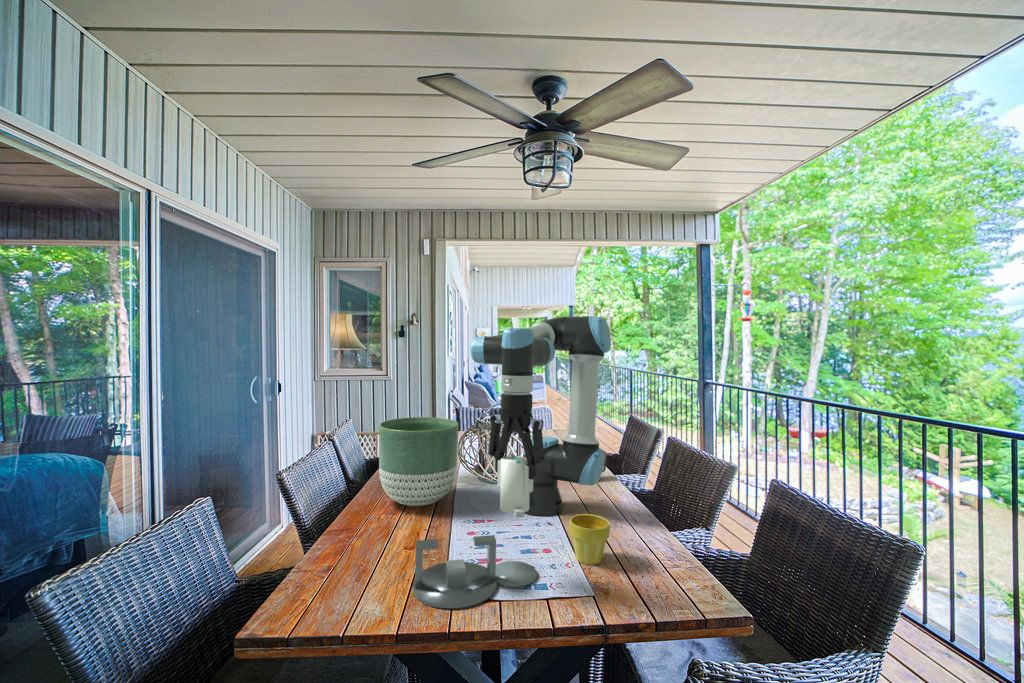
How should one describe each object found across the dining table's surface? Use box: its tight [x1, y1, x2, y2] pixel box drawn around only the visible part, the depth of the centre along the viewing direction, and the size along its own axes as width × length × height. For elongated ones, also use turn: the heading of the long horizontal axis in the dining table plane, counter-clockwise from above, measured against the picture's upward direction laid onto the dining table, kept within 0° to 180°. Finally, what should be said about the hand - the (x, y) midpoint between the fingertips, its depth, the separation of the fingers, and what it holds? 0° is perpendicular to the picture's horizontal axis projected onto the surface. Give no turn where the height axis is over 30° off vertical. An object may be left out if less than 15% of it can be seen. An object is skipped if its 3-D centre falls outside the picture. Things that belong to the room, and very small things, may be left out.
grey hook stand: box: [412, 534, 498, 610], centre depth 105 cm, size 19×19×10 cm
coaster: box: [495, 560, 538, 589], centre depth 110 cm, size 11×11×1 cm
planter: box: [378, 416, 459, 507], centre depth 158 cm, size 27×27×27 cm
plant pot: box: [568, 513, 611, 566], centre depth 119 cm, size 10×10×10 cm
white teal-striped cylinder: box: [499, 454, 530, 518], centre depth 110 cm, size 12×7×12 cm, turn 12°
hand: (514, 488), depth 110 cm, fingers closed on white teal-striped cylinder, 7 cm apart
